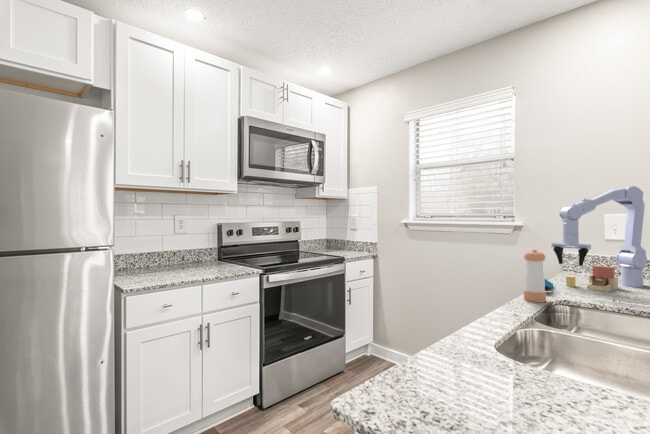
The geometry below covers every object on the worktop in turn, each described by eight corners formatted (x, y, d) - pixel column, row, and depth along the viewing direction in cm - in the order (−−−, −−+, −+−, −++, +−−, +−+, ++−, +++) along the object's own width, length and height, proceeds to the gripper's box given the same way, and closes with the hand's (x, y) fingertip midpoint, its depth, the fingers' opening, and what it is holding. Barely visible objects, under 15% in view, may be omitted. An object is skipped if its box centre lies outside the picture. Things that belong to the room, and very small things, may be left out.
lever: (534, 297, 160) (523, 292, 147) (535, 282, 161) (524, 275, 148) (552, 300, 155) (542, 295, 142) (553, 283, 156) (543, 277, 144)
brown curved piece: (600, 285, 157) (600, 272, 157) (612, 287, 154) (612, 274, 154) (591, 289, 150) (591, 276, 150) (603, 290, 146) (603, 277, 146)
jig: (594, 286, 160) (594, 274, 159) (619, 289, 152) (619, 276, 152) (583, 290, 151) (583, 277, 151) (610, 294, 144) (609, 280, 144)
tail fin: (569, 287, 159) (569, 275, 159) (575, 287, 157) (575, 276, 157) (566, 288, 157) (566, 276, 157) (572, 288, 155) (572, 277, 155)
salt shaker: (540, 298, 139) (539, 248, 139) (550, 302, 131) (549, 250, 131) (520, 297, 139) (520, 248, 139) (529, 302, 132) (528, 250, 132)
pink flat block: (594, 276, 156) (594, 265, 156) (614, 279, 151) (614, 267, 151) (592, 277, 155) (592, 266, 155) (612, 279, 149) (612, 267, 149)
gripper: (548, 233, 160) (548, 263, 160) (587, 234, 149) (587, 267, 149) (554, 233, 164) (554, 262, 164) (592, 234, 153) (592, 265, 153)
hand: (570, 264), depth 157 cm, fingers open, 7 cm apart
